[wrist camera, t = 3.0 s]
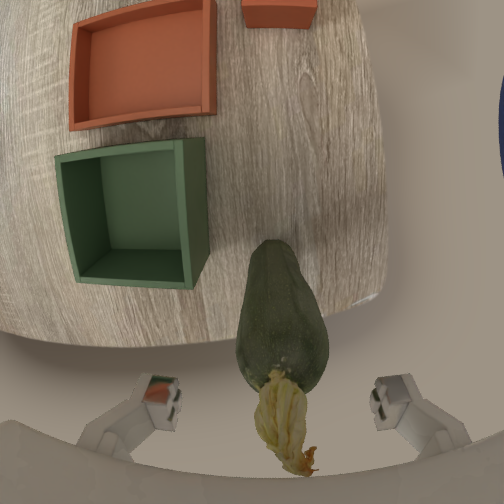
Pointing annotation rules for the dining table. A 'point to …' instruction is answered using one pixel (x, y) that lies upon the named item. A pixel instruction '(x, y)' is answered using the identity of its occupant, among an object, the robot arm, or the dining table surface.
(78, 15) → the dining table surface
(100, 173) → the produce bin
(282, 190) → the dining table surface
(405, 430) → the robot arm
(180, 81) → the terracotta tray
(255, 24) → the terracotta block
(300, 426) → the vegetable
